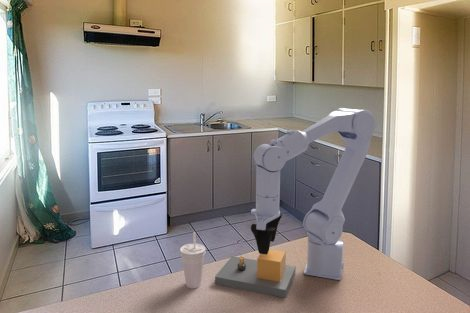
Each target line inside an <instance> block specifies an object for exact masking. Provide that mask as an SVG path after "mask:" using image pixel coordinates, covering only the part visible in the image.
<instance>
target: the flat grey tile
mask: <svg viewBox="0 0 470 313" xmlns="http://www.w3.org/2000/svg"><path fill="white" fill-rule="evenodd" d="M296 268H297V267H296V266H295V265H289V264H285V272H284V274H283V277H282V279H281V281H280V282H278V281H273V280H267V279H262V278H257V259H253V258H245V256H244V255H240V256H239V257H238V256H233V255H232V256H230V258H229V259H228V261H226V262H225V264H224V265H223V266H222V267H221V269H220V270H219V271H218V273H217V274H216V275H215V276H214V284H215V285H219V286H224V287H229V288H233V289H239V290H243V291H248V292H249V291H250V292H254V293H260V294H265V295H270V296H276V297H280V298H286V297H287V295H288V293H289V290H290V287H291V286H292V283H293V281H294V278H295V275H296V271H297V269H296Z"/></svg>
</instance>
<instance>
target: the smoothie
mask: <svg viewBox="0 0 470 313" xmlns="http://www.w3.org/2000/svg"><path fill="white" fill-rule="evenodd" d="M196 235H197V234H196V231H193V234H192V237H193V238H192V241H193V243H192V242H191V243H187V244H184V245H182V246H181V247H180V248H179V255H180V256H181V261H182V267H183V274H184V279H185V284H186V287H187V288H188V289H198V288H199V287H201V286H202V278H203V268H204V261H205V260H204V259H205V254H206V252H207V251H206V247H205V246H204V245H203V244H201V243H197V240H196V238H197V237H196Z"/></svg>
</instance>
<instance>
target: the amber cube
mask: <svg viewBox="0 0 470 313" xmlns="http://www.w3.org/2000/svg"><path fill="white" fill-rule="evenodd" d="M286 255H287V254H286V251H281V250H276V249H275V250H274V249H269V251H268V254H267V255H266V254H259V255H258V257H257V259H256V260H257V278H262V279H267V280H273V281H278V282H280V281H281V279H282V277H283V274H284V272H285V265H286Z"/></svg>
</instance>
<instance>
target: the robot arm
mask: <svg viewBox="0 0 470 313" xmlns="http://www.w3.org/2000/svg"><path fill="white" fill-rule="evenodd" d="M376 128H377V122H376V119H375V117H374V114H373V113H372V112H371V111H370V110H368V109H354V108H353V109H352V108H347V107H346V108H345V107H340V108H337V110H334V111H331V112H330V113H329V114H328V115H327V116H325V117H324V118H321V119H320V120H318V121H317V122H316V123H313V124H311V126H309V127H307V128H305V129H303V130H298V129H289V130H287V131H286V134H285V135H282V136H281V137H279V138H277V139H274V138H273V139H271V140H270V143H269V144H268V143H263V144H260V145H258V146H257V147H256V149H255V150H254V152H253V155H252V156H251V159H252V162H253V164H254V165H255V167H256V168H255V169H256V170H255V172H256V173H255V174H256V175H255V183H256V184H255V208H252V209H251V211H250V214H251V215H254V216H255V219H256V223H252V224H251V226H250V230H251V232H252V234H253V236H254V239H255V242H256V246H257V251H258V254H259V255H260V254H266V255H267V254H268V251H269V250H270V246H271V242H274V241H275V239H276V235H277V229H278V227H279V223H280V221H281V219H282V217H283V213H282V212H281V211H280V195H281V194H280V193H281V188H280V187H281V169H283V168H284V166H285V164H286V162H287V161H290V160H291V159H293V158H295V157H297V156H299V155H301V154H303V153H304V152H306V151H307V150H308V148H309V144H310V143H311V144H312V142H315V141H317V140H319V139H321V138H323V137H325V136H328V135H330V134H333V133H335V132H337V135H339V136H340V138H341V139H342V140H343V142H344V145H345V148H344V151H343V153H342V154H341V155H342V156H341V158H340V159H339V162H338V164H337V166H336V168H335V170H334V173H333V174H332V177H331V179H330V181H329V183H328V186H327V188H326V190H325V193H324V195H323V197H322V199H321V200H320V201H318V202H316V203H314V204H313V205H312V207H311V209H310V210H309V211H308V212H307V213H306V214H305V216H304V217H303V220H302V224H303V228H304V229H305V231H306V232H307V233H306V235H307V251H306V252H307V257H306V265H305V267H304V270H303V272H302V274H304V275H308V276H313V277H320V278H324V279H325V278H326V279H329V280H335V281H341V279H342V273H343V270H344V266H345V264H344V263H345V262H344V250H345V249H344V248H345V246H344V245H345V243H344V241H342V240H340V239H341V237H342V235H343V229H344V224H345V222H346V218H345V216H344V213H343V210H342V209H343V206H344V204H346V200H347V198H348V196H349V194H350V192H351V190H352V187H353V186H354V183H355V181H356V178H357V176H358V174H359V172H360V169H361V167H362V165H363V163H364V161H365V159H366V157H367V155H368V152H369V150H370V148H371V147H370V146H371V140H372V137H373V134H374V131H375V130H376Z"/></svg>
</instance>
